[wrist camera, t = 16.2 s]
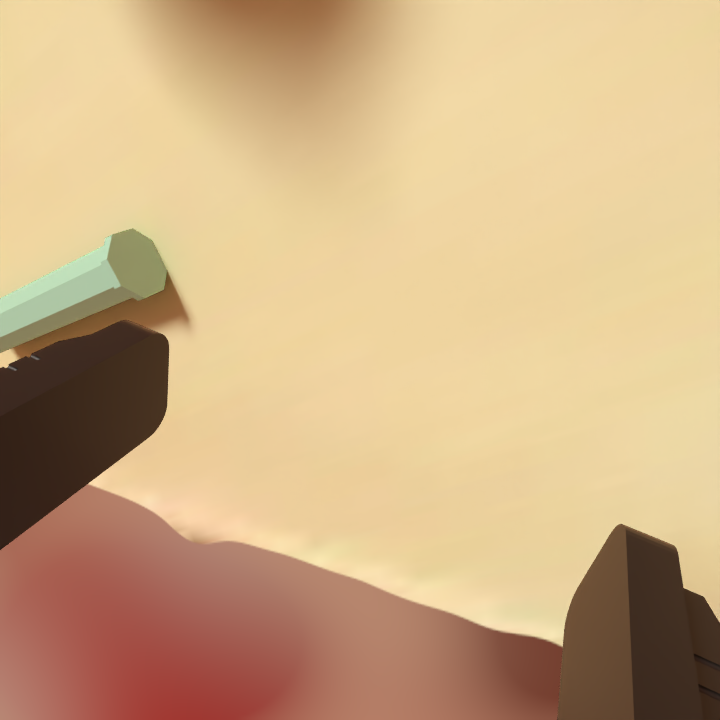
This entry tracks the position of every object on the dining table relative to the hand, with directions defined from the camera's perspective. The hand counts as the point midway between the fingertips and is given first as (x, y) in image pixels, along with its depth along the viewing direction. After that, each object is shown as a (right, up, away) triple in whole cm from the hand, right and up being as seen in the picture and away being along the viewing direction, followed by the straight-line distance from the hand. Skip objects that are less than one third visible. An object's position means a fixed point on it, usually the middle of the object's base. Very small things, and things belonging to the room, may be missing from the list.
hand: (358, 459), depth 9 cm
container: (-28, +8, +45) cm, 53 cm away
